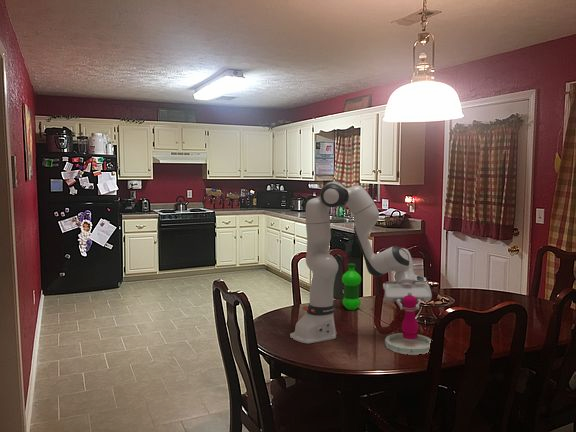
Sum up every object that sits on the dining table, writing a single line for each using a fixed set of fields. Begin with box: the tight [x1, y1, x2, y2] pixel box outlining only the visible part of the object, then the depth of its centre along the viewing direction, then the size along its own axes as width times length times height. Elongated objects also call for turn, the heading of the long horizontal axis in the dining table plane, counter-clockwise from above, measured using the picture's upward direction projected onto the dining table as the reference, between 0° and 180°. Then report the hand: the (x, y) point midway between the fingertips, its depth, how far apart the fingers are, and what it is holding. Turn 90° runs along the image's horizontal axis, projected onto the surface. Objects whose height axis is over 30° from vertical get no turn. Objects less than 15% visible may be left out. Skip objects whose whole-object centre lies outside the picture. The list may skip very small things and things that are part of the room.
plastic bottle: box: [341, 263, 362, 311], centre depth 268 cm, size 10×10×25 cm
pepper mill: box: [401, 292, 420, 339], centre depth 210 cm, size 7×7×20 cm
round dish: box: [384, 332, 432, 356], centre depth 211 cm, size 20×20×2 cm
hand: (409, 309), depth 210 cm, fingers closed on pepper mill, 5 cm apart
